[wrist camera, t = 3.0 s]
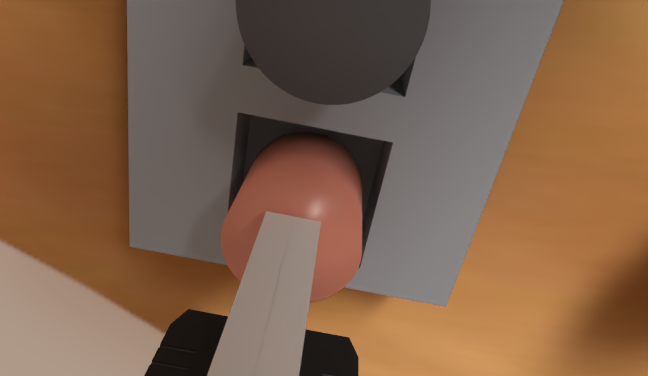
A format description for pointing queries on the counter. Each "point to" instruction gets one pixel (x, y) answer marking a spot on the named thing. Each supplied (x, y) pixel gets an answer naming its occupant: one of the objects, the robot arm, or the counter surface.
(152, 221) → the button board
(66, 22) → the counter surface
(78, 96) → the counter surface
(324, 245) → the red button
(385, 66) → the black button
